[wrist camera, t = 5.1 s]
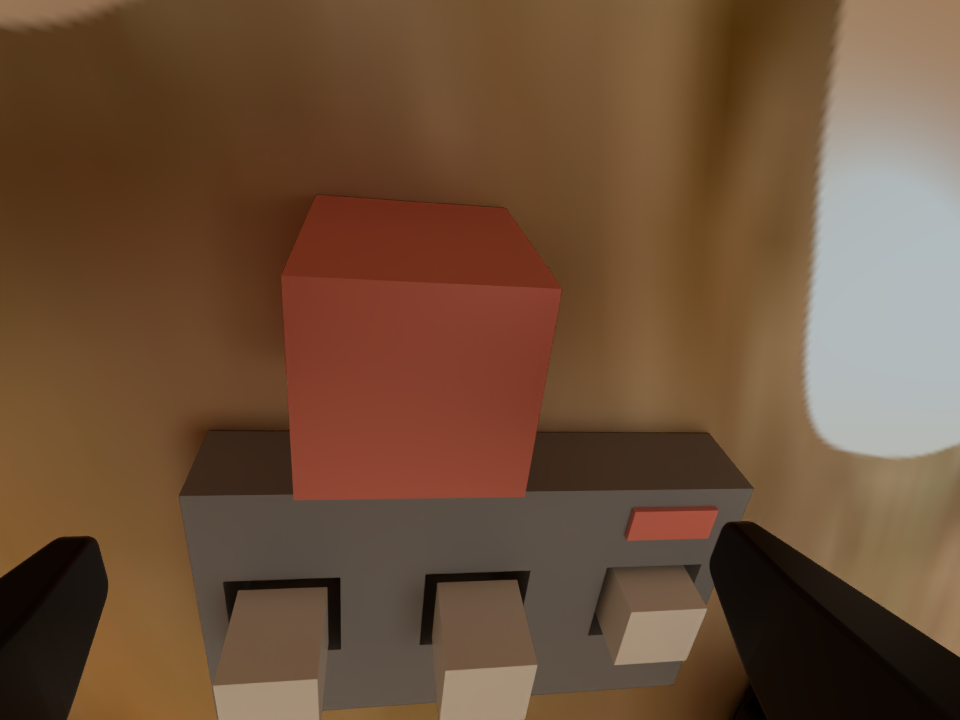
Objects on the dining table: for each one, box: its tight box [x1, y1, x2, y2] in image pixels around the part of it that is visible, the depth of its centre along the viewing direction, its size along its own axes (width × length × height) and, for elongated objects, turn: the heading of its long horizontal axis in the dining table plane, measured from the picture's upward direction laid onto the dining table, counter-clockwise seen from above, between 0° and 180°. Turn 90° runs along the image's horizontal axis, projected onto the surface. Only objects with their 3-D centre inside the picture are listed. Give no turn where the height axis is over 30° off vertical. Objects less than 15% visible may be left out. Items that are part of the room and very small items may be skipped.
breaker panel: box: [179, 431, 754, 718], centre depth 21 cm, size 17×10×3 cm, turn 84°
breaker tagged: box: [595, 565, 708, 665], centre depth 21 cm, size 3×3×3 cm
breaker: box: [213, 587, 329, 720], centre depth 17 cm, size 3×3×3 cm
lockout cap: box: [281, 195, 562, 500], centre depth 15 cm, size 5×5×6 cm
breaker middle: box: [432, 580, 538, 720], centre depth 18 cm, size 3×3×3 cm
